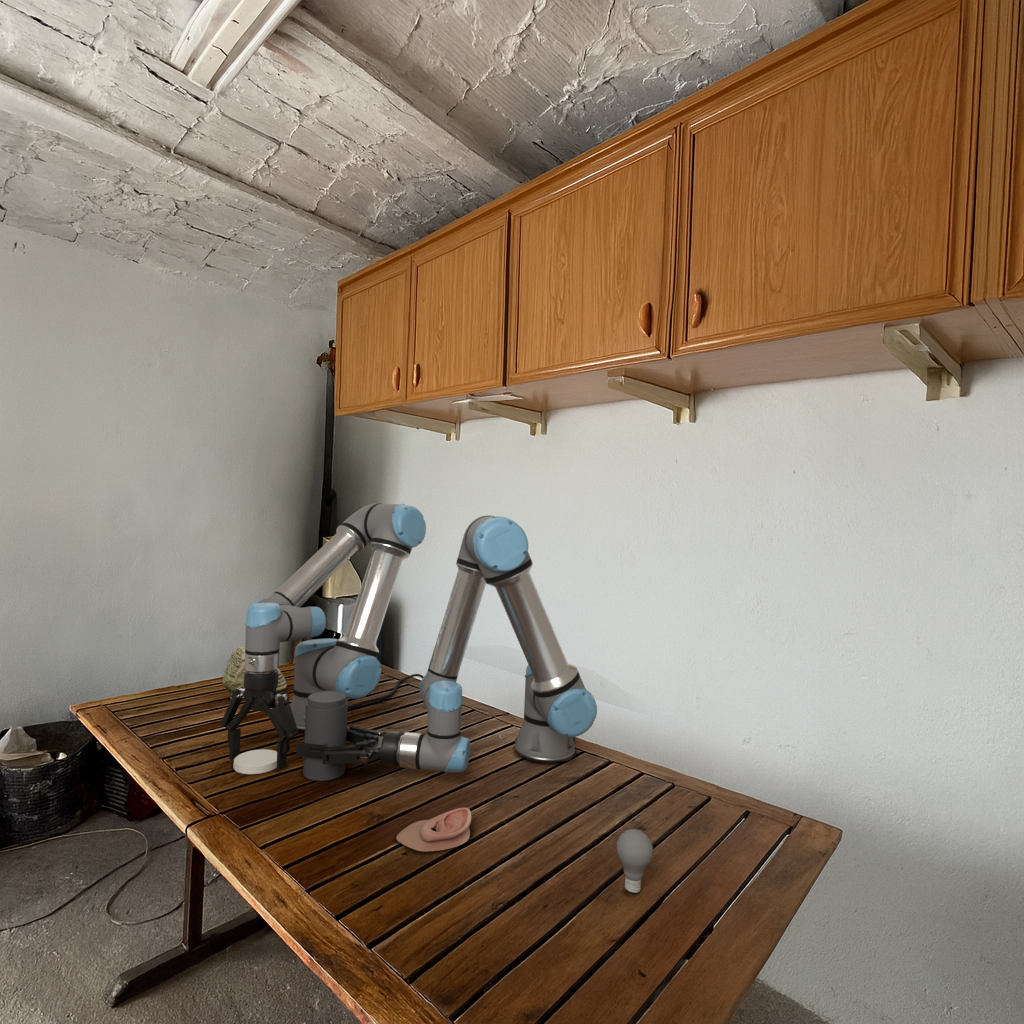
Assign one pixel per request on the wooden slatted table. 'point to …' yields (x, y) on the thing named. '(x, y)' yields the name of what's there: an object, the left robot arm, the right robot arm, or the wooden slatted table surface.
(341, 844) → the wooden slatted table surface
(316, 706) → the jar
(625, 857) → the light bulb
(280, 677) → the fossil
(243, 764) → the lid
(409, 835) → the anatomical model
